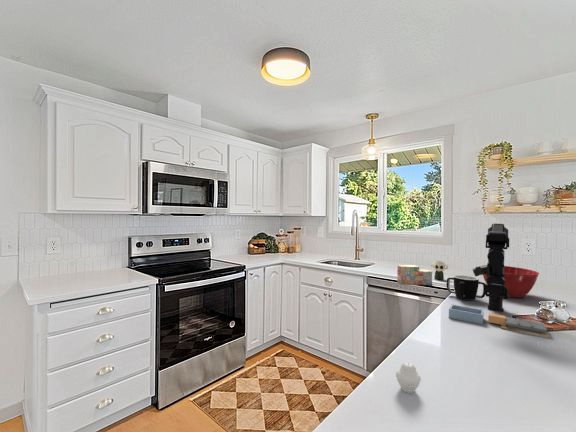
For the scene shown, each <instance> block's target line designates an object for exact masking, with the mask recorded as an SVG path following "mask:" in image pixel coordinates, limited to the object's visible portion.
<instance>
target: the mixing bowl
mask: <svg viewBox="0 0 576 432" xmlns="http://www.w3.org/2000/svg"><path fill="white" fill-rule="evenodd" d="M482 266H487V264H485V265H481V266H480V267H482ZM539 275H540V272H538V271H536V270H533V269H527V268H523V267H516V266H509V265H507V266H506V265H504V279H505V287H506V288H507V290H508V298H511V297H512V299H513V298H514V299H516V298H517V299H520V298H522V297H526V296H527V295H528V294H529V293H530V292H531V291H532V289H533V288H534V286H535V284H536V282H537V279H538V277H539ZM482 278H483V280H484V283H485V284H487V283H486V281H487V274H483V275H482ZM503 296H505V295H503Z"/></svg>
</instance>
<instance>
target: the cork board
mask: <svg viewBox="0 0 576 432" xmlns="http://www.w3.org/2000/svg"><path fill="white" fill-rule="evenodd" d="M500 329H502V330H506V331H511V332H517V333H522V334H527V335H531V336H535V337H541V338H546V339H550V335H549V333H548V332H547V333H545V332H542V333H537V332H531V331H526V330H521V329H516V328H511V327H509V325H506V323H505V325H501V324H500Z"/></svg>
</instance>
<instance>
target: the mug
mask: <svg viewBox="0 0 576 432" xmlns="http://www.w3.org/2000/svg"><path fill="white" fill-rule="evenodd" d="M450 280H451V281H453V290H452V289H451V287H450V286H451V285H450V283H451V281H450ZM479 285H482V286H483V287H482V294H481V295H479V294H478V291H479V290H478V289H479ZM446 290H447V291H448V292H449V293H451V294H454V295H455V297H456V298H458V299H460V300H463V301H475V300H476V298H477V299H483V298H484V297H486V282H482V281H479V278H478V277H477V276H471V275H464V274H462V275H461V274H457V275H454V276H453V277H448V278H446Z"/></svg>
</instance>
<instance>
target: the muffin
mask: <svg viewBox="0 0 576 432" xmlns="http://www.w3.org/2000/svg"><path fill="white" fill-rule="evenodd" d="M400 366H401V367H400V368H399V369H397V370H396V372H395V377H396V381H397V383H398V385H399V387H400V389H401V390H402V392H404V393H408V394H413V393H415V392H416V390H417V389H418V387H419V386H420V383H421V380H422V377H421V374H419V372H418V371H417V370H416V366H415V365H414V364H412V363H410V362H404V363H402V364H401V365H400Z"/></svg>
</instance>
